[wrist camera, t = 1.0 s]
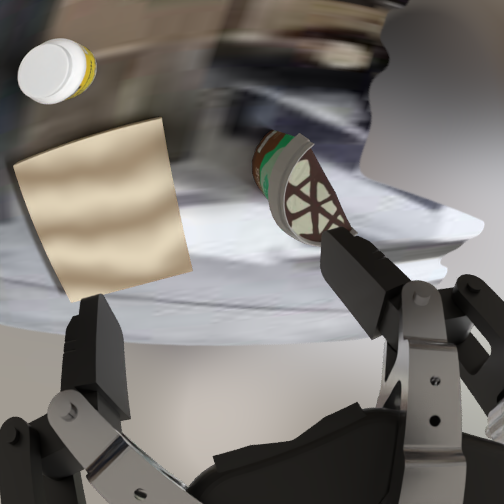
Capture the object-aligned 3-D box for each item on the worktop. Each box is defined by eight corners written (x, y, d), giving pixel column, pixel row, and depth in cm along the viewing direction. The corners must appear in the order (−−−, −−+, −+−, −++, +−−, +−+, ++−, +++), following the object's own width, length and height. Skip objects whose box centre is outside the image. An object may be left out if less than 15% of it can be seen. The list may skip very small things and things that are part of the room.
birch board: (18, 161, 24) (13, 165, 22) (161, 116, 27) (161, 118, 26) (72, 295, 34) (71, 302, 33) (190, 263, 38) (192, 271, 36)
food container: (219, 152, 31) (249, 184, 23) (265, 118, 31) (311, 138, 23) (275, 227, 39) (313, 273, 31) (313, 198, 38) (359, 236, 31)
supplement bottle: (75, 108, 24) (46, 122, 16) (36, 82, 20) (-5, 88, 13) (109, 62, 22) (93, 56, 15) (69, 36, 19) (39, 20, 12)
